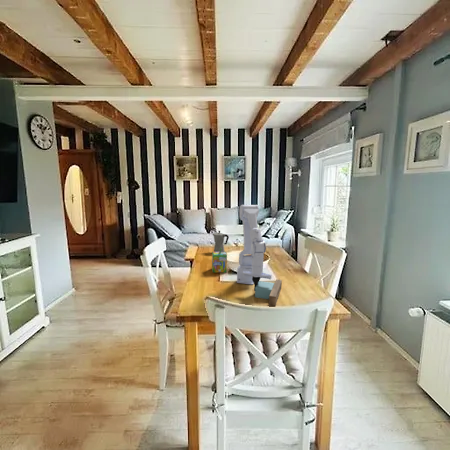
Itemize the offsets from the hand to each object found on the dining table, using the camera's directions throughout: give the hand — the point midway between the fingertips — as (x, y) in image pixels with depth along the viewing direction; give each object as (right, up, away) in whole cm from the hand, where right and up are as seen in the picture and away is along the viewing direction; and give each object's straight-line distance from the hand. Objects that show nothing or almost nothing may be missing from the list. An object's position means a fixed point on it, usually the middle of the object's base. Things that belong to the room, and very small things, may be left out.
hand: (256, 290), depth 142 cm
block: (+4, -2, -1) cm, 5 cm away
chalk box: (-20, +4, +37) cm, 42 cm away
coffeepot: (-20, +11, +85) cm, 88 cm away
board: (+9, -2, -3) cm, 10 cm away
